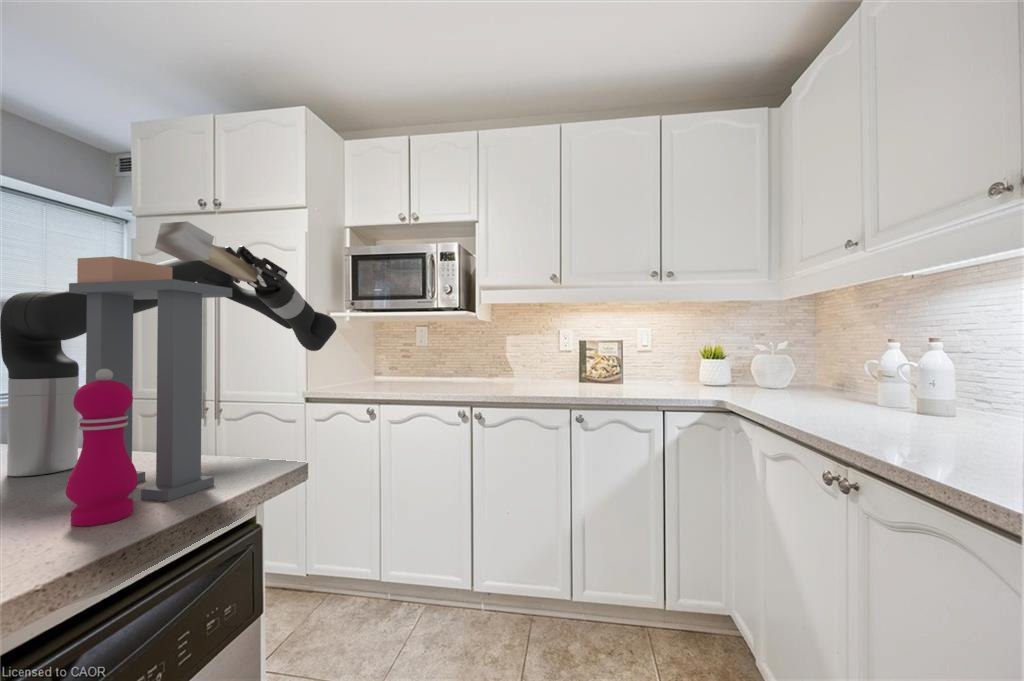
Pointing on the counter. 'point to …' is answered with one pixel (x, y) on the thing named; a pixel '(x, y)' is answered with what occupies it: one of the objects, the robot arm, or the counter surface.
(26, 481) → the counter surface
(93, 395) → the pepper mill
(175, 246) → the mallet
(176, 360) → the shelf
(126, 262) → the base block
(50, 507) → the counter surface
